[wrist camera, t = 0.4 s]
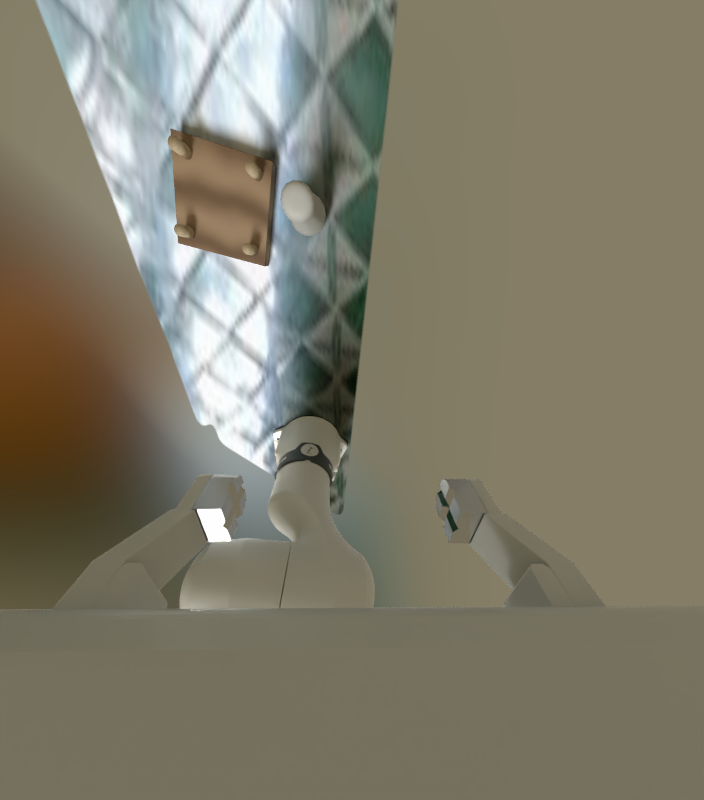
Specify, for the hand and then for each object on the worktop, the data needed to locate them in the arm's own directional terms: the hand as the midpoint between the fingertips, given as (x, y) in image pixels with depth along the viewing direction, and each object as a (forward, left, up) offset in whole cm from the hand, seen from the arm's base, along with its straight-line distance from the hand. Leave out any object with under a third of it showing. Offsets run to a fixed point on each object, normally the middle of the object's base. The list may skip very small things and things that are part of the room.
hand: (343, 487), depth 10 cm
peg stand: (+11, +22, -45) cm, 51 cm away
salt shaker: (+13, +9, -45) cm, 48 cm away
